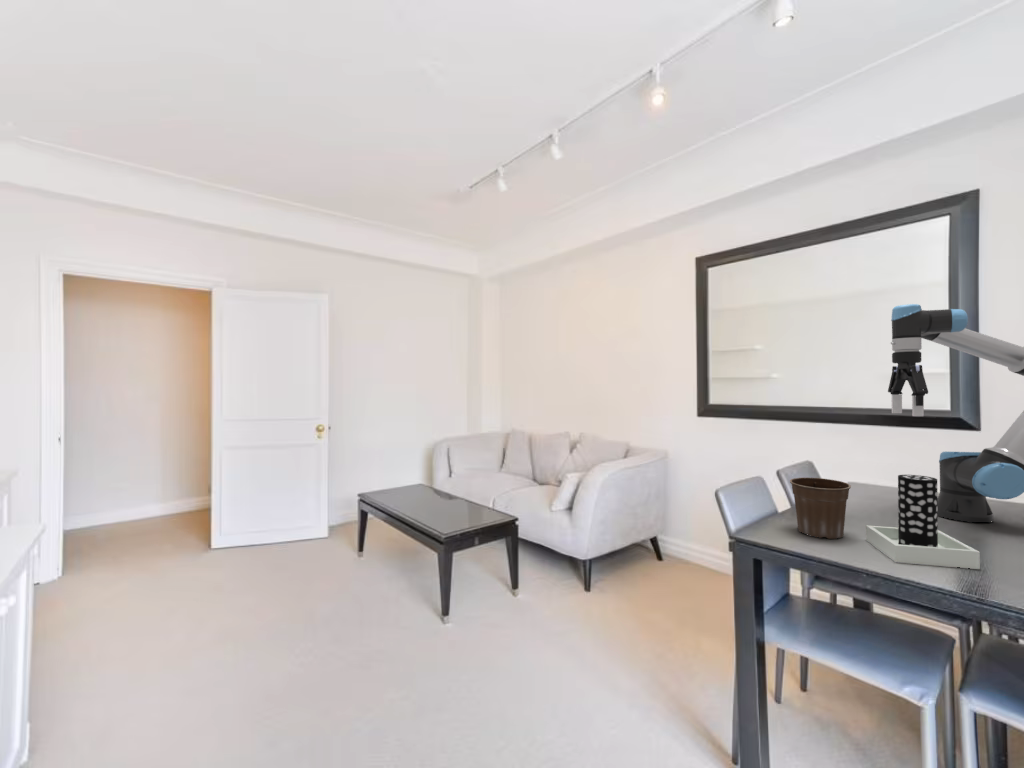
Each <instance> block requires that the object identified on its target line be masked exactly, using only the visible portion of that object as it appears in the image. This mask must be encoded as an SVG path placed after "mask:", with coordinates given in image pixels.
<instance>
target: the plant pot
mask: <svg viewBox="0 0 1024 768" xmlns="http://www.w3.org/2000/svg"><path fill="white" fill-rule="evenodd" d="M789 483H790V484H791V489H792V494H793V495H794V496H793V497H794V505H795V515H796V524H797V530H798V531H799V533H801V532H802V533H801V534H803V533H805V534H808V535H811V536H810V537H812V536H815V537H814V538H817V537H819V538H818V539H822V538H826V539H828V540H836V539H837V538H838V539H840V538H843V537H844V533H845V522H846V508H847V502H848V501H847V500H848V499H849V492H850V489H851V488H852V485H850V483H847V482H844V481H842V480H841V481H840V480H836V479H830V478H823V477H821V478H820V477H795V478H791V479H790V480H789ZM805 534H804V535H805ZM808 535H807V536H808Z"/></svg>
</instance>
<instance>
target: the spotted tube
mask: <svg viewBox="0 0 1024 768" xmlns="http://www.w3.org/2000/svg"><path fill="white" fill-rule="evenodd" d="M937 498H938V478H935V477H932V476H927V475H920V474H918V475H917V474H898V475H897V504H898V505H897V507H898V508H897V511H898V512H897V514H898V515H897V517H898V519H897V520H898V522H897V523H898V524H897V525H898V526H897V528H898V544H901V545H914V546H927V547H938V530H939V527H938V525H939V523H938V521H939V519H938V517H939V516H938V506H937Z"/></svg>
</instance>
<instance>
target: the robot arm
mask: <svg viewBox="0 0 1024 768" xmlns="http://www.w3.org/2000/svg"><path fill="white" fill-rule="evenodd" d="M967 313H968V312H966V311H965V309H961V308H947V309H933V310H932V309H930V310H929V309H928V310H924V309H923V308H922V306H921V304H918V303H910V304H909V303H908V304H900V305H896V306H894V307H893V308H892V310H891V320H890V321H891V342H890V345H892V346H891V349H892V351H893V352H892V354H891V362H892V364H897V366H896V365H893V366H892V368H891V371H892V372H891V377H890V380H889V385H888V389H887V392H888V393H890V395H891V414H903V392H902V391H903V388H904V386H905V384H906V381H907V383H908V385H909V387H910V389H911V392H912V394H911V397H912V398H911V401H912V402H911V408H912V409H911V411H912V412H911V413H912V417H924V416H925V414H924V413H925V409H924V408H925V407H924V403H925V402H924V401H925V399H924V396H925V395H928V394H929V389H928V385H927V382H926V380H925V375H924V371H923V365H922V364H918V363H921V362H922V352H921V350H922V349H923V348H922V347H923V346H922V339H923V340H927V341H929V342H933V343H935V344H938V345H942V346H945V347H947V348H950V349H953V350H956V351H959V352H962V353H966V354H969V355H970V356H974V357H977V358H979V359H983V360H985V361H988V362H991V363H995V364H998V365H1001V366H1004V367H1007V369H1008V371H1009V372H1012V373H1013V374H1017V375H1020V376H1023V377H1024V346H1021V345H1017V344H1014V343H1011V342H1009V341H1005V340H1003V339H999V338H996V337H993V336H991V335H990V336H989V335H987V334H983V333H981V332H978V331H974V330H972V329H968V328H966V327H967V326H968V323H969V316H968V314H967ZM938 463H939V494H938V495H937V506H938V517H941V518H943V517H944V519H947V518H949V519H948V520H951V519H954V520H953V521H957V520H961V521H960V522H963V521H968V522H967V523H972V522H991V521H993V522H994V513H993V511H992V509H991V506H990V504H989V502H988V500H987V498H989V499H996V500H997V499H998V500H1011V499H1015V498H1018V497H1019V496H1021V495H1022V494H1023V493H1024V410H1022V412H1021V413H1020V415H1019V416H1018V417H1017V418H1015V421H1013V422H1012V423H1011V424H1010V426H1009V428H1008V429H1007V430H1006V431H1005V432H1004V433H1003V435H1002V436H1001V438H999V440H998V441H997V442H996V443H995V445H994V446H991V447H985V448H983V449H982V451H981V452H980V451H978V452H977V451H941V452H940V454H939V460H938ZM991 523H992V522H991Z"/></svg>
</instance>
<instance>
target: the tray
mask: <svg viewBox="0 0 1024 768" xmlns="http://www.w3.org/2000/svg"><path fill="white" fill-rule="evenodd" d="M865 541H866V542H868V543H869V544H870V545H872V546H873V547H874V548H876V549H877V550H878V551H879V552H881V553H883V554H884V555H885V556H887V558H889V559H891V561H893V562H895V563H899V564H901V563H902V564H912V565H913V564H914V565H921V566H922V565H923V566H933V567H934V566H935V567H947V568H948V567H949V568H957V567H960V569H968V568H970V570H980V567H981V566H980V563H981V562H980V561H981V560H980V555H981V554H980V553H981V552H980V551H979V550H977V549H976V548H973V547H971V546H970V545H967V544H965V543H963V542H961V540H958V539H957V538H954V537H953V536H951V535H948V534H947V533H944V532H943V531H941V530H939V529H938V547H927V546H914V545H901V544H898V526H897V527H894V526H879V525H878V526H877V525H865Z"/></svg>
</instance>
